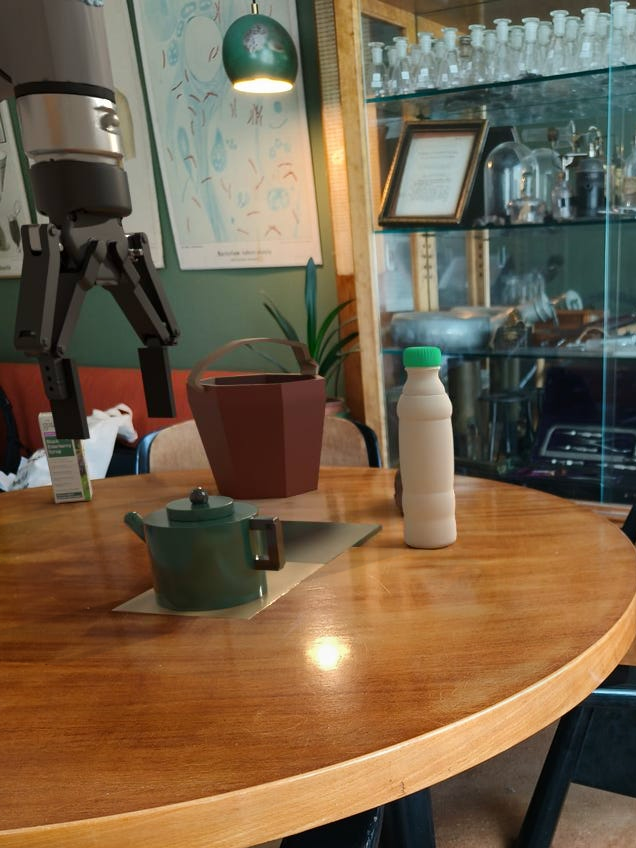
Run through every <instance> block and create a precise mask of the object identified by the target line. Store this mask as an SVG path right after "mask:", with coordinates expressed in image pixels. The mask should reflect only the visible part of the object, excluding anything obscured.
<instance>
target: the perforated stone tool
mask: <svg viewBox="0 0 636 848" xmlns="http://www.w3.org/2000/svg"><path fill="white" fill-rule="evenodd" d="M393 488H394V494H393V499H394V502H395V504H396V507H398V509H399V510H400V511H401V512H403V507H402V493H403V486H402V479H401V470H400V467H399V468H398V469H397V470H396V472H395V475H394V481H393Z"/></svg>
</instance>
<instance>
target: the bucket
mask: <svg viewBox="0 0 636 848" xmlns="http://www.w3.org/2000/svg"><path fill="white" fill-rule="evenodd" d="M265 342H269V343H274V344H275V343H276V344H282V345H286V346H291V347H292V348H293V351H294V355H295V358H296V360H297V361H298V363H299V364H300V365H299V366H300V371H299V373H253V374H238V375H237V374H236V375H223V376H210V377H207V378H202V377H203V375H204V374H205V373H206V371H207V369H208V368H209V366H210V365H212V364H213V363H214V364H215V363H216V362H217V361H218V360H220V359H221V358H222V357H224V356H225V355H227V354H229V353H230V352H233V351H234V350H236V349H238V348H240V347H242V346H244V345H249V344H255V343H265ZM319 371H320V364H319V363H318V362H317V361H316V359H314V358H312V357H311V353H310V349H309V347H308V344H307V343H304V342H300V341H296V340H290V339H284V338H283V339H282V338H270V337H256V338H255V337H254V338H253V337H252V338H243V339H236V340H232V341H230V342H228V343H225V344H224V345H222V346H220V347H218V348H217V349H215V350H213V351H212V352H210V353H209V354H207V355H206V356H204V357H203V358H201V359H199V360H198V361H197V362H196V363H195V365H194V367H193V368H192V369H191V370H190V372H189V374H188V376H187V378H186V381H187V382H185V389H186V396H187V397H186V398H187V403H188V406H189V408H190V411H191V414H192V417H193V420H194V423H195V427H196V429H197V432H198V435H199V438H200V440H201V443H202V444H201V445H202V447H203V450H204V453H205V455H206V458H207V461H208V465H209V467H210V471H211V473H212V476H213V479H214V482H215V485H216V488H217V491H218V493H219V494H220V495H223V496H226V497H230V498H234V499H238V500H258V499H260V500H261V499H283V498H290V497H294V496H297V495H301V494H304V493H309V492H312V491H317V490H318V488H319V477H320V468H321V467H320V466H321V457H322V448H323V436H324V427H325V415H326V406H327V387H326V385H327V384H326V378H325V377H323V376H321V375H319Z"/></svg>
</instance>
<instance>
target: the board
mask: <svg viewBox="0 0 636 848" xmlns="http://www.w3.org/2000/svg"><path fill="white" fill-rule="evenodd" d="M279 521H281V526H282V535H283V544H284V554H285V563H286V564H285V565H284V568H283V569H281V570H280V571H266V576H267V584H268V590H267V592H266V593H265V594H264V595H263V596H262V597H260V598H258V599H256V600H254V601H252V602H249V603H246V604H243V605H239V606H236V607H231V608H226V609H220V610H212V611H197V612H189V611H176V610H170V609H166V608H163V607H161V606H159V605H158V604H157V603H156V600H155V594H154V588H153V587H152V588H150V589H148V590H146V591H144V592H143V593H141V594H139V595H137V596H135V597H133V598H131V599H129V600H127V601H126V602H124V603H122V604H120V605H118V606H117V607H114V608H113V609H111V611H112V612H113V611H114V612H126V613H127V612H128V613H140V614H141V613H142V614H156V615H173V616H185V617H186V616H187V617H200V618H201V617H202V618H217V619H231V620H245V621H246V620H247V621H249V620H250V619H251V618H252V617H254V616H256V615H257V614H259V613H260V612H261V611H263V610H264V609H266V608H267V607H269V605H271V604H272V603H274V602H276V601H277V600H278V599H279V598H281V597H282V596H284V595H285V594H287V593H288V592H289V591H291V590H292V589H294V588H295V587H296V586H298V585H299V584H300V583H302V582H303V581H305V580H306V579H308V578H309V577H311V576H312V575H313V574H315V573H316V572H317V571H319V570H320V569H322V568H323V567H324V566H326V565H327V564H328V563H330V562H331V561H333V560H335V558H337V557H339V556H340V555H341V554H343V553H344V552H345V551H347V550H348V549H350V548H359V547H360V546H362V545H363V544H364V543H365V542H367V541H368V540H370V539H371V538H373V537H374V536H376V535H377V534H379V533H380V532H381V531H382V530H383V524H382V523H363V522H362V523H360V522H335V521H306V520H305V521H304V520H281V519H279ZM261 533H262V542H263V550H264V556H269V555H268V546H267V538H266V531H263V530H261Z"/></svg>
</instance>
